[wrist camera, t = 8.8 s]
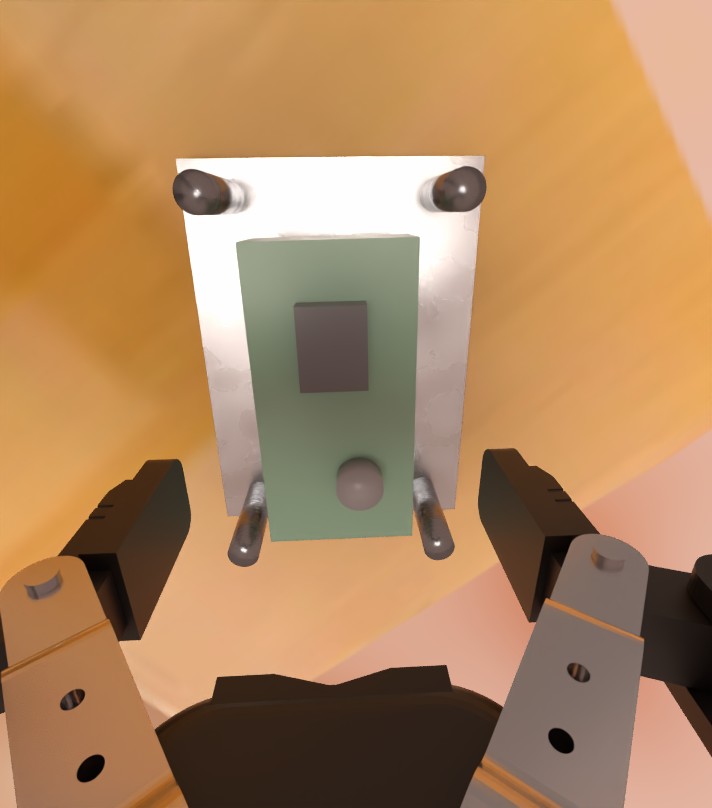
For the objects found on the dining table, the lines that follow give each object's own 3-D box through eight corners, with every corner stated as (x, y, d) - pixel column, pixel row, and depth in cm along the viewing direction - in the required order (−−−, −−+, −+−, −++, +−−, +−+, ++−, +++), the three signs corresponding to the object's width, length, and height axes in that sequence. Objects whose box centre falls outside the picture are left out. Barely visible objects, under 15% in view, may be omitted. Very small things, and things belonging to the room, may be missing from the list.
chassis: (186, 162, 20) (123, 141, 14) (475, 159, 21) (530, 137, 15) (233, 500, 27) (203, 581, 21) (448, 494, 28) (479, 571, 22)
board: (251, 237, 17) (228, 244, 14) (407, 233, 18) (425, 238, 14) (279, 500, 22) (267, 558, 18) (402, 495, 22) (415, 551, 19)
